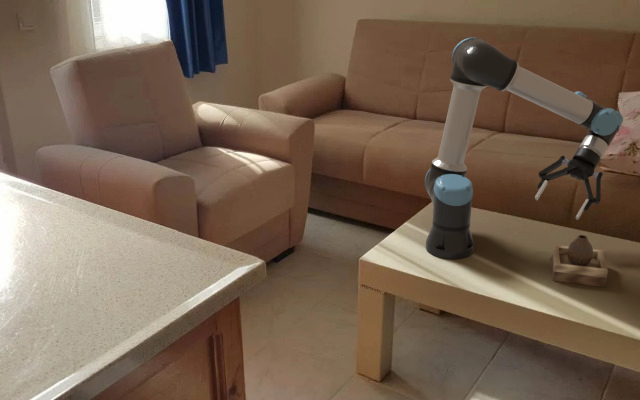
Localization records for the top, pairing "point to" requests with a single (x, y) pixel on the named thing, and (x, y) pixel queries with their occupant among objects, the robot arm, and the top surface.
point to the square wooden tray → (578, 268)
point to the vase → (580, 251)
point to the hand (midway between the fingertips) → (556, 208)
